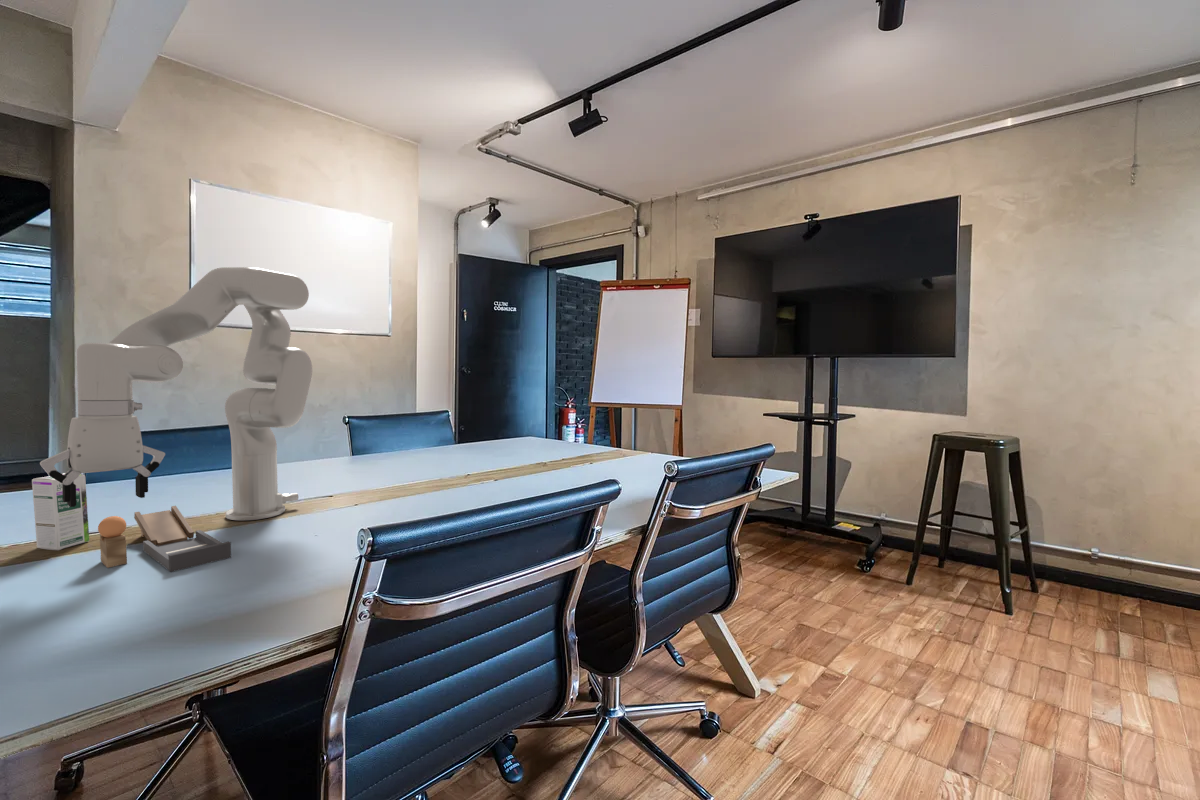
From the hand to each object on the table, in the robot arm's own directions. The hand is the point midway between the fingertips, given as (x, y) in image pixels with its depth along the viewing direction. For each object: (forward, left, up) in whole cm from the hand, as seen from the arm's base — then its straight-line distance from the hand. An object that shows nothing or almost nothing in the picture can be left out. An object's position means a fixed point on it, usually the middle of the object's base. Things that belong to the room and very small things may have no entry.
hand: (107, 501), depth 101 cm
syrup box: (+3, -20, -12) cm, 24 cm away
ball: (-1, 0, -5) cm, 5 cm away
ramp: (-11, -9, -12) cm, 19 cm away
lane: (-11, +4, -12) cm, 17 cm away
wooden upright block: (-1, 0, -12) cm, 12 cm away
